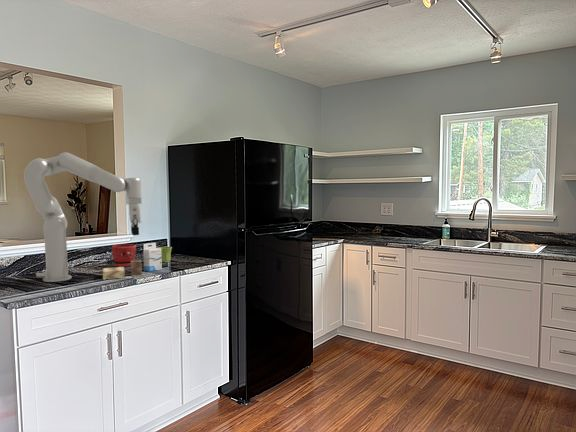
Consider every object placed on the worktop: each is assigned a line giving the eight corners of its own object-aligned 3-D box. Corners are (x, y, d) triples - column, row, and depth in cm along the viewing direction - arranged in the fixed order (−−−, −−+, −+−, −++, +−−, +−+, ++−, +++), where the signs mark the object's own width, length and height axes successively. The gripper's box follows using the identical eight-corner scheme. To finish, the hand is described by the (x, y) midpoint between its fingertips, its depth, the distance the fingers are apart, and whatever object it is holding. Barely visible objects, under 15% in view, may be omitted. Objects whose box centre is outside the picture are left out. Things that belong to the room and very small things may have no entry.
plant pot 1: (131, 267, 247) (130, 246, 246) (108, 267, 247) (107, 246, 246) (139, 263, 260) (139, 243, 259) (117, 263, 260) (117, 243, 259)
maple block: (103, 279, 215) (102, 271, 215) (103, 276, 225) (103, 268, 224) (124, 278, 219) (124, 270, 219) (124, 274, 228) (123, 266, 228)
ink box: (149, 272, 235) (148, 244, 234) (143, 271, 237) (142, 244, 236) (162, 269, 242) (161, 242, 240) (156, 268, 244) (155, 242, 243)
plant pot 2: (153, 262, 265) (152, 247, 264) (165, 259, 272) (165, 246, 272) (163, 263, 259) (163, 249, 259) (175, 261, 267) (175, 247, 267)
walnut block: (131, 275, 225) (131, 262, 225) (131, 273, 230) (130, 260, 230) (141, 274, 227) (141, 261, 227) (141, 273, 232) (140, 260, 231)
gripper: (142, 201, 221) (143, 235, 222) (140, 200, 237) (141, 232, 238) (126, 202, 218) (128, 236, 219) (125, 201, 234) (126, 232, 235)
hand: (135, 234), depth 229 cm, fingers open, 9 cm apart
